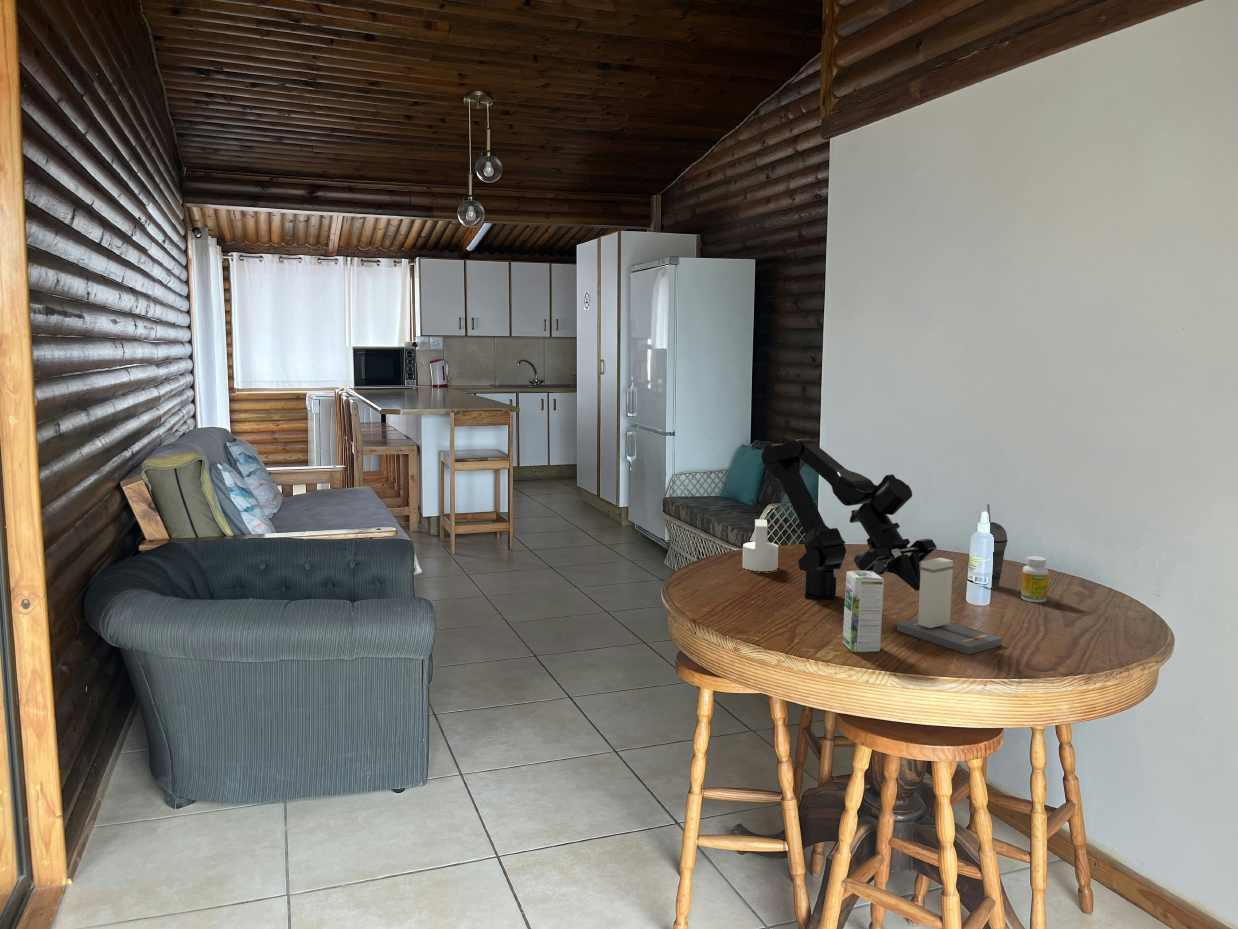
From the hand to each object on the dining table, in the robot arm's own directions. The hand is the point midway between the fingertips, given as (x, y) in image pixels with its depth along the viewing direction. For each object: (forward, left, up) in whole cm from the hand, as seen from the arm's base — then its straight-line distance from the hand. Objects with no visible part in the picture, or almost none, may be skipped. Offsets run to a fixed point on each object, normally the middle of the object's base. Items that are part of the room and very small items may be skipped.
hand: (919, 589), depth 185 cm
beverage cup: (+20, +38, -8) cm, 44 cm away
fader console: (+5, -5, -8) cm, 11 cm away
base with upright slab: (-35, +43, -8) cm, 56 cm away
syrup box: (-12, -15, -8) cm, 21 cm away
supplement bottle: (+28, +28, -8) cm, 40 cm away
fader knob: (+3, -3, -6) cm, 7 cm away
